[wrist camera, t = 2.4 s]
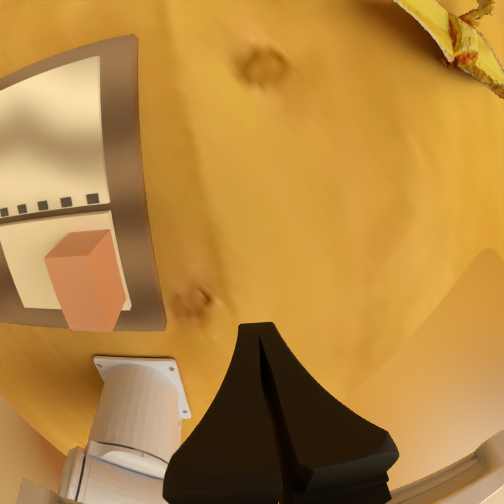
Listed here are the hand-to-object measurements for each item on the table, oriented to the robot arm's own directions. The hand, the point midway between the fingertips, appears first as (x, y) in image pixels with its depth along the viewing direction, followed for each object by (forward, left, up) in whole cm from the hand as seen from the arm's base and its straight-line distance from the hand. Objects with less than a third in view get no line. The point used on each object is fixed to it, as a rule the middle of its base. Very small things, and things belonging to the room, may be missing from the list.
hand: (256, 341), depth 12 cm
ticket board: (+4, +18, -9) cm, 20 cm away
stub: (0, +13, -8) cm, 15 cm away
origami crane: (+16, -15, -9) cm, 24 cm away
